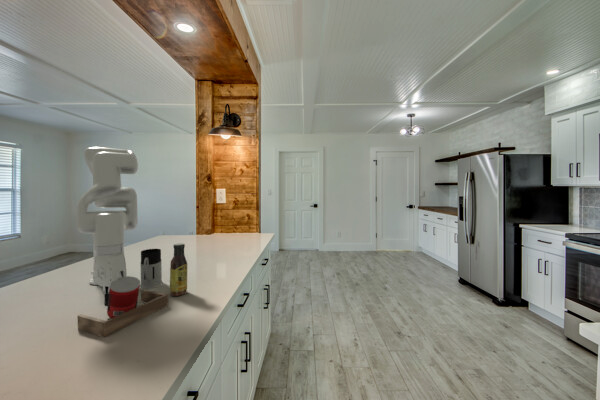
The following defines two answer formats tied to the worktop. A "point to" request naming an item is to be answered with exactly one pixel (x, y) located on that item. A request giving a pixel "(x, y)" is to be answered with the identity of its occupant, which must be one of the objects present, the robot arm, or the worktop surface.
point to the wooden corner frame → (124, 315)
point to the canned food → (123, 296)
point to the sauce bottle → (178, 271)
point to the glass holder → (151, 268)
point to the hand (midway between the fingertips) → (111, 304)
